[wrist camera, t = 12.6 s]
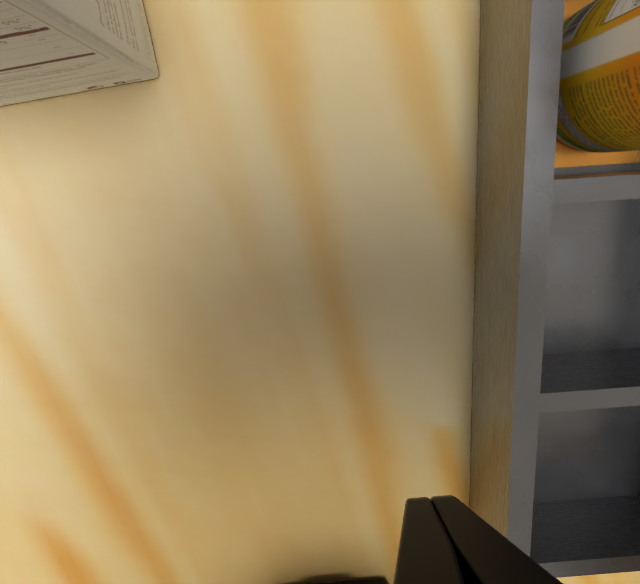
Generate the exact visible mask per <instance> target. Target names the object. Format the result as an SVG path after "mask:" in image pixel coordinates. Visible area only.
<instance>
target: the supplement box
mask: <svg viewBox="0 0 640 584" xmlns="http://www.w3.org/2000/svg"><path fill="white" fill-rule="evenodd" d="M158 76H159V72H158V68H157V64H156V60H155V55H154V50H153V46H152V41H151V36H150V32H149V28H148V24H147V20H146V15H145V11H144V7H143V3H142V0H0V106H4V105H10V104H15V103H20V102H26V101H31V100H37V99H43V98H48V97H54V96H59V95H65V94H71V93H76V92H82V91H87V90H93V89H99V88H104V87H111V86H116V85H122V84H127V83H132V82H138V81H144V80H150V79H155V78H158Z"/></svg>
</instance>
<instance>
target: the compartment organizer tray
mask: <svg viewBox="0 0 640 584" xmlns="http://www.w3.org/2000/svg"><path fill="white" fill-rule="evenodd" d="M593 1H595V0H481V21H480V66H479V111H478V156H477V201H476V245H475V290H474V335H473V380H472V425H471V470H470V509H471V510H472V511H473V512H475V513H476V514H477V515H478V516H480V517H481V518H482V519H483V520H485V521H486V522H487V523H488V524H490V525H491V526H492V527H493V528H494V529H496V530H497V531H498V532H499V533H501V534H502V535H503V536H504V537H506V538H507V539H508V540H509V541H511V542H512V543H513V544H514V545H515V546H517V547H518V548H519V549H520V550H522V551H523V552H524V553H525V554H527V555H528V556H529V557H530V558H532V559H533V560H534V561H535V562H537V563H538V564H539V565H540V566H541V567H543V568H544V569H545V570H546V571H548V572H549V573H550V574H551V575H553V576H554V577H555V578H557V577H570V576H582V575H594V574H606V573H619V572H631V571H640V150H635V151H623V152H586V151H581V150H578V149H575V148H572V147H570V146H568V145H566V144H564V143H563V142H561V141H560V140H558V139H557V138H556V133H557V117H558V101H559V85H560V69H561V53H562V37H563V23H564V22H565V21H566V20H567V19H568V18H569V17H571V16H572V15H573V14H575V13H576V12H578V11H579V10H581V9H582V8H584V7H585V6H586V5H588V4H590V3H591V2H593Z"/></svg>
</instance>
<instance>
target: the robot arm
mask: <svg viewBox="0 0 640 584" xmlns="http://www.w3.org/2000/svg"><path fill="white" fill-rule="evenodd" d="M321 584H389V583H388V582H387V581H386V580H384V579H371V580H358V581H346V582H333V583H321ZM393 584H563V583H561V582H560V581H559V580H558V579H556V578H555V577H554V576H553V575H551V574H550V573H549V572H548V571H546V570H545V569H544V568H543V567H541V566H540V565H539V564H538V563H537V562H535V561H534V560H533V559H532V558H530V557H529V556H528V555H527V554H525V553H524V552H523V551H522V550H520V549H519V548H518V547H517V546H515V545H514V544H513V543H512V542H511V541H509V540H508V539H507V538H506V537H504V536H503V535H502V534H501V533H499V532H498V531H497V530H496V529H494V528H493V527H492V526H491V525H490V524H488V523H487V522H486V521H485V520H483V519H482V518H481V517H480V516H478V515H477V514H476V513H475V512H473V511H472V510H471V509H470V508H468V507H467V506H466V505H465V504H464V503H462V502H461V501H460V500H459V499H457V498H456V497H454V496H452V495H446V496H434V497H432V498H431V499H429V498H427V497H420V498H409V499H407V501H406V504H405V511H404V517H403V524H402V530H401V537H400V543H399V550H398V557H397V563H396V570H395V576H394V583H393Z"/></svg>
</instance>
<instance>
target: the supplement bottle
mask: <svg viewBox="0 0 640 584" xmlns="http://www.w3.org/2000/svg"><path fill="white" fill-rule="evenodd" d="M556 138H557V139H558V140H560V141H561V142H563V143H564V144H566V145H568V146H570V147H572V148H575V149H578V150H581V151H586V152H623V151H635V150H640V0H595V1H593V2H591V3H590V4H588V5H586V6H585V7H584V8H582V9H581V10H579V11H578V12H576V13H575V14H573V15H572V16H571V17H569V18H568V19H567V20H566V21H565V22H564V23H563V37H562V53H561V69H560V85H559V101H558V117H557V133H556Z"/></svg>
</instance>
